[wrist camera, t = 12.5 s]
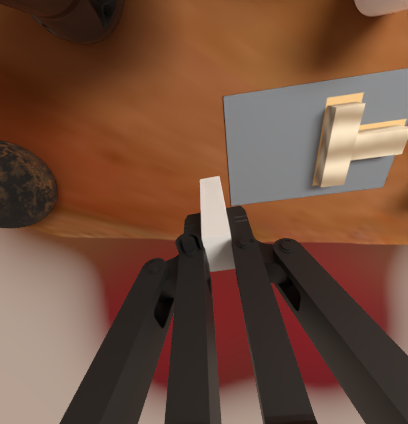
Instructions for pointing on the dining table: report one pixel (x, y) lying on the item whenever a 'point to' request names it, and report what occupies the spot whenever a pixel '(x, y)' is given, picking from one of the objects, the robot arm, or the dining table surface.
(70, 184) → the dining table surface
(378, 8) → the candle holder
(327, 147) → the t block
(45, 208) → the dark mottled flask
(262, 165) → the push mat
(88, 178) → the dining table surface
